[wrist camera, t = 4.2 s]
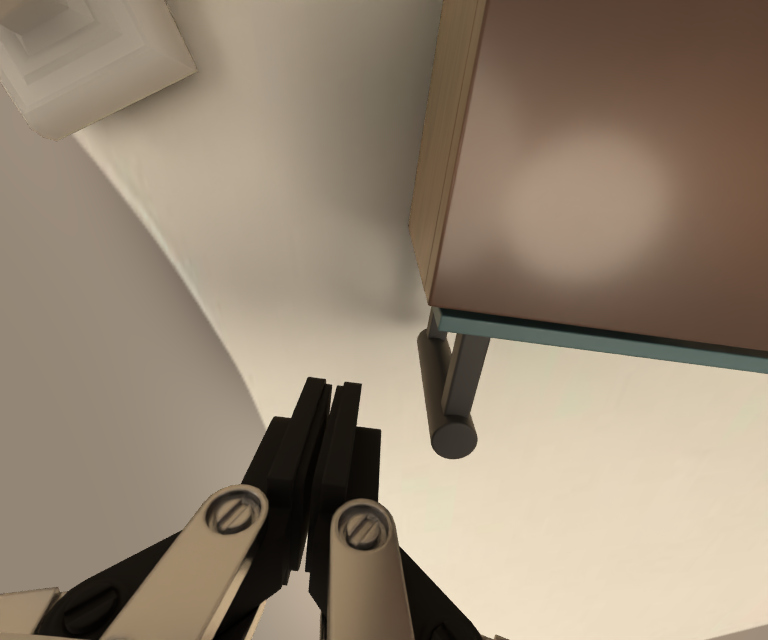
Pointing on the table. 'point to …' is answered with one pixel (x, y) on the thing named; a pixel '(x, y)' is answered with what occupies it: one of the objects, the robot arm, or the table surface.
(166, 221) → the table surface
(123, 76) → the stamp
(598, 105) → the cupboard
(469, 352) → the sliding door
